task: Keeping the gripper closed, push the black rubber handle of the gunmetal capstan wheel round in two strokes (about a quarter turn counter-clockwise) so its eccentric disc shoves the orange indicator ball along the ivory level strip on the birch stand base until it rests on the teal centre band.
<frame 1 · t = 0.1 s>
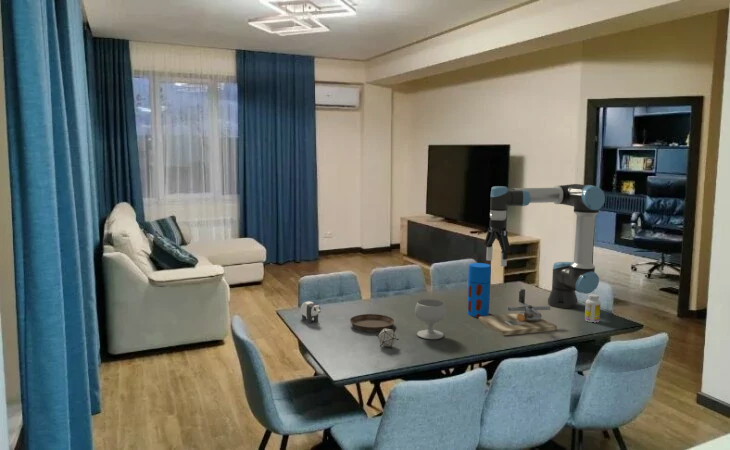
hand: (496, 263, 263), 28 cm above the table, fingers open, 13 cm apart
cam wheel: (529, 307, 257), point 9 cm above the table, hinge at 0.0°
stand base: (516, 325, 258), on the table
game die: (387, 347, 229), on the table
thermos: (477, 314, 276), on the table
plant saucer: (372, 327, 255), on the table
giant panda: (311, 321, 262), on the table
supplement bottle: (591, 321, 266), on the table
ball: (520, 317, 256), point 4 cm above the table, slide at 0.0 cm
chalice: (430, 335, 243), on the table
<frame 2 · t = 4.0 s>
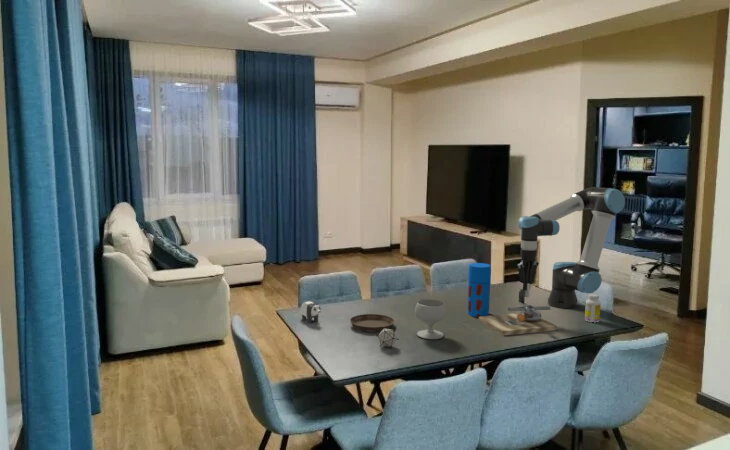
hand: (526, 296, 267), 11 cm above the table, fingers closed
cam wheel: (529, 307, 257), point 9 cm above the table, hinge at 0.7°, touching gripper
everything else where it was.
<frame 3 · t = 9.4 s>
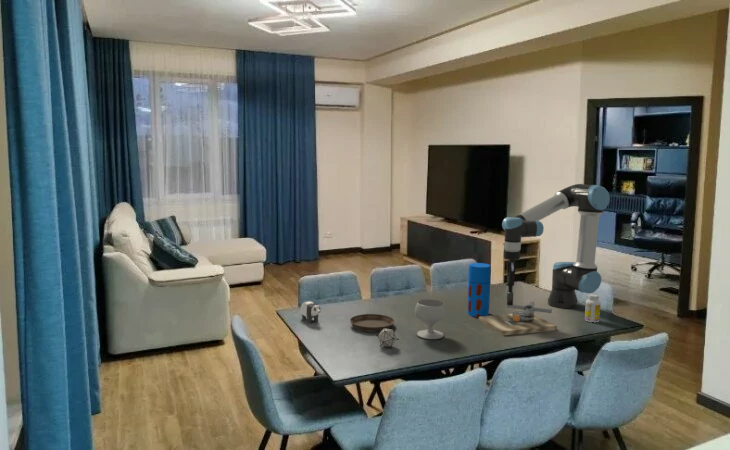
hand: (509, 298, 263), 11 cm above the table, fingers closed
cam wheel: (529, 307, 257), point 9 cm above the table, hinge at 57.8°, touching gripper
ball: (516, 317, 255), point 4 cm above the table, slide at 2.4 cm
everything else where it was.
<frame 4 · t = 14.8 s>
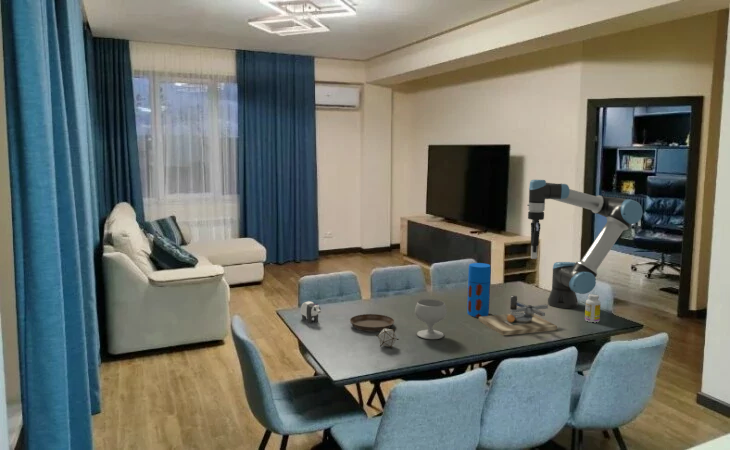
hand: (533, 258, 273), 28 cm above the table, fingers closed
cam wheel: (529, 307, 257), point 9 cm above the table, hinge at 104.8°
ball: (510, 318, 255), point 4 cm above the table, slide at 5.3 cm
everything else where it was.
at the end: ball 0.1 cm from the target spot, resting on stand base; cam wheel at +105° (first picture: +0°) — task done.
